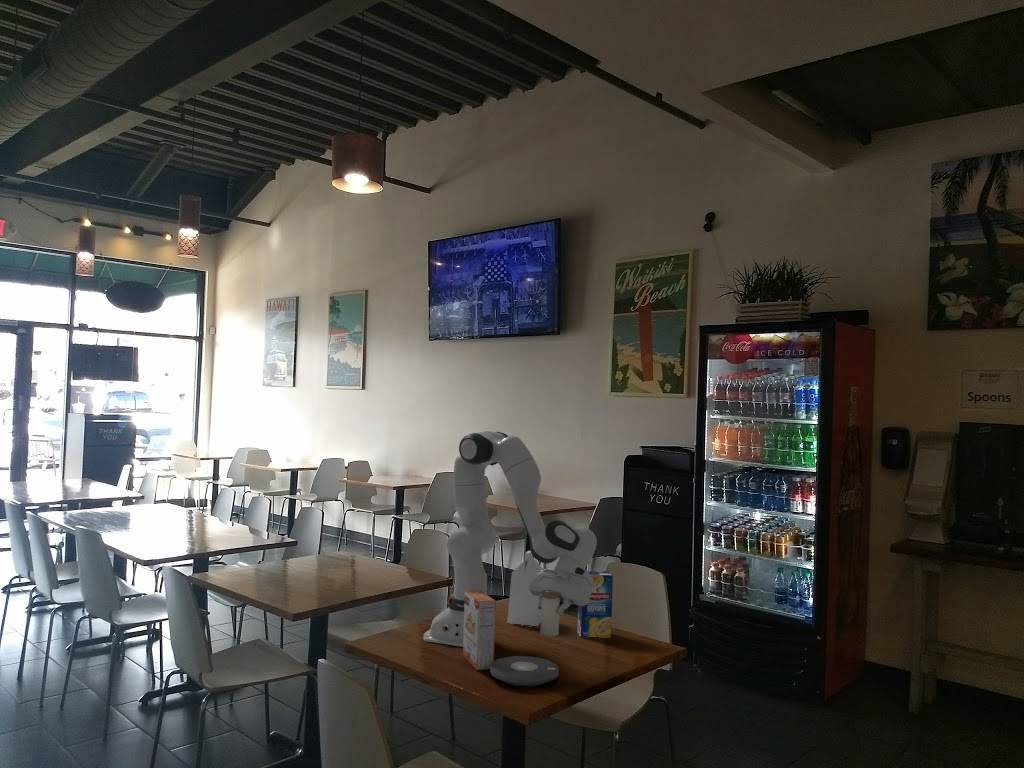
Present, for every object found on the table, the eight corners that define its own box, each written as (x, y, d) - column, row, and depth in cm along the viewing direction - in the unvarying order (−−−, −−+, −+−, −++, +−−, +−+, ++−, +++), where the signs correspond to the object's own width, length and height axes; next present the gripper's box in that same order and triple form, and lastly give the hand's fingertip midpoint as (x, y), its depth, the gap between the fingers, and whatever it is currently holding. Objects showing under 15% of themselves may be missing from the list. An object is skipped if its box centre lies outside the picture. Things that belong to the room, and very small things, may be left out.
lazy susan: (484, 680, 214) (484, 674, 214) (496, 658, 234) (496, 653, 234) (554, 687, 211) (554, 680, 211) (561, 664, 231) (561, 658, 231)
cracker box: (461, 657, 240) (464, 590, 241) (479, 655, 242) (481, 589, 243) (475, 671, 227) (477, 600, 228) (494, 669, 229) (496, 599, 230)
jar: (538, 635, 227) (540, 593, 228) (540, 629, 233) (542, 589, 233) (558, 636, 226) (559, 595, 227) (559, 631, 232) (561, 590, 232)
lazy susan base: (496, 684, 217) (496, 679, 217) (504, 668, 230) (504, 663, 230) (544, 688, 214) (545, 683, 214) (550, 672, 228) (550, 667, 228)
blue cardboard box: (611, 637, 268) (613, 575, 269) (580, 637, 267) (582, 574, 268) (606, 632, 275) (608, 571, 276) (577, 632, 274) (579, 570, 275)
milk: (515, 616, 293) (518, 548, 294) (544, 619, 290) (547, 550, 291) (507, 623, 282) (509, 553, 283) (537, 627, 279) (540, 555, 280)
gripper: (537, 562, 242) (517, 598, 234) (592, 572, 230) (573, 610, 222) (544, 574, 245) (525, 610, 237) (599, 585, 233) (580, 623, 225)
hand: (549, 610), depth 229 cm, fingers closed on jar, 5 cm apart
